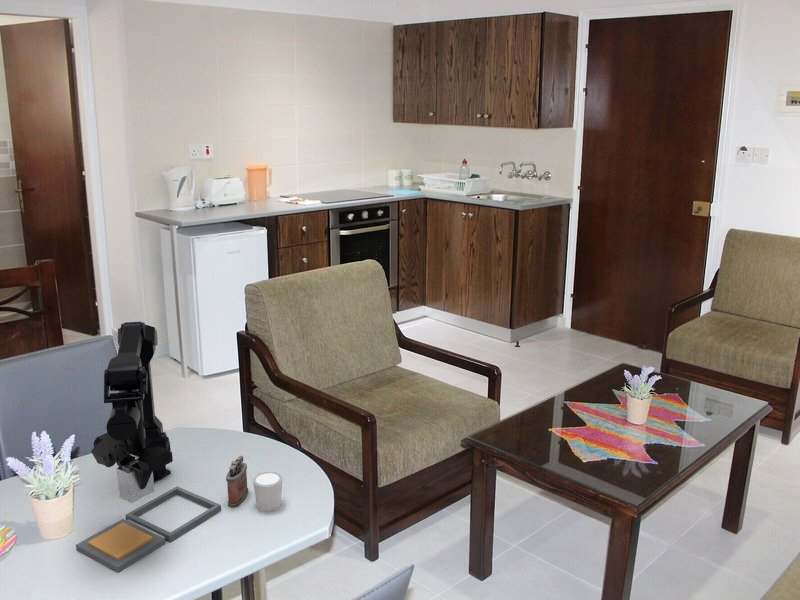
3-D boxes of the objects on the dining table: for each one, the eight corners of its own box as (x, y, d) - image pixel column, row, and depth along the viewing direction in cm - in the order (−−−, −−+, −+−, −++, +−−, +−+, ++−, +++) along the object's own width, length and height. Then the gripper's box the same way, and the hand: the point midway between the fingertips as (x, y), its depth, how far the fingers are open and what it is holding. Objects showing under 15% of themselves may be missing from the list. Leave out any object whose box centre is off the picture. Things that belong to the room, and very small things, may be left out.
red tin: (238, 508, 179) (235, 470, 176) (224, 506, 179) (222, 468, 177) (251, 490, 186) (249, 453, 184) (238, 489, 187) (236, 452, 184)
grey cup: (258, 515, 176) (256, 488, 174) (251, 500, 182) (249, 474, 180) (287, 509, 179) (285, 482, 177) (279, 494, 185) (278, 469, 183)
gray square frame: (125, 520, 174) (125, 514, 173) (177, 491, 186) (177, 486, 185) (170, 542, 166) (169, 536, 165) (221, 510, 178) (220, 504, 177)
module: (119, 497, 164) (116, 466, 162) (142, 485, 169) (139, 455, 167) (132, 503, 162) (128, 471, 160) (154, 490, 167) (151, 459, 165)
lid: (76, 549, 163) (75, 542, 163) (127, 521, 174) (126, 514, 173) (118, 572, 156) (117, 565, 155) (168, 541, 166) (168, 534, 166)
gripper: (67, 423, 159) (76, 490, 163) (127, 445, 149) (134, 515, 153) (112, 404, 168) (119, 468, 172) (171, 424, 158) (177, 491, 162)
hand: (136, 485), depth 165 cm, fingers closed on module, 4 cm apart
